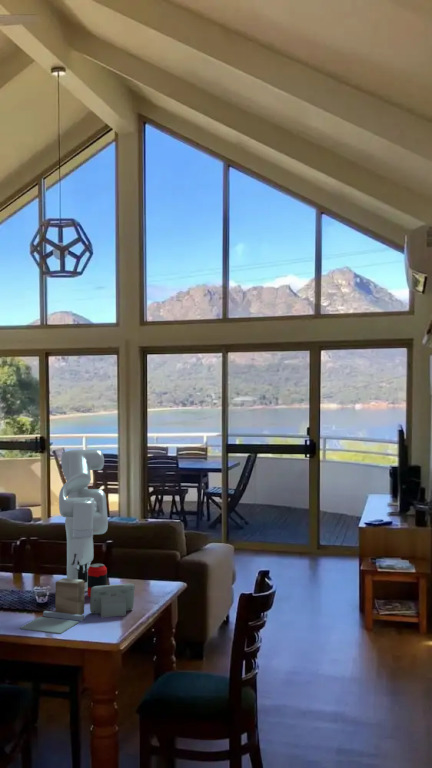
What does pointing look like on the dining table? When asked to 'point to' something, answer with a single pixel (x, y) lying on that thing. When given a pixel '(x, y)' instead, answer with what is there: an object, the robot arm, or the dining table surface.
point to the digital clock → (112, 599)
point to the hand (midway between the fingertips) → (82, 582)
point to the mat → (49, 625)
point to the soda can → (96, 576)
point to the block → (70, 596)
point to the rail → (63, 615)
